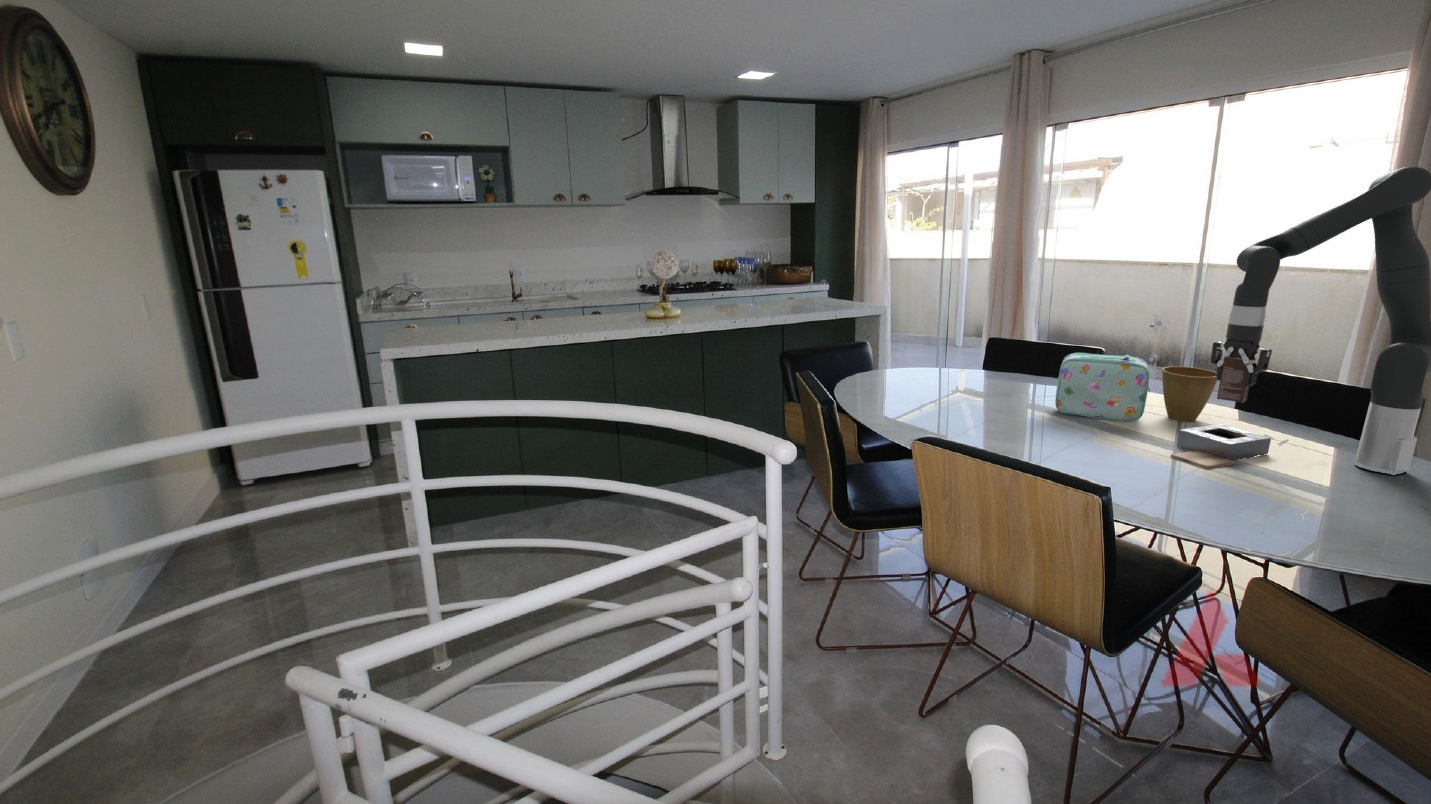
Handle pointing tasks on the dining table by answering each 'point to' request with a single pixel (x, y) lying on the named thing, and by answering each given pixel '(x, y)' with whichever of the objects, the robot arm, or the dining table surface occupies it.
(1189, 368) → the plant pot
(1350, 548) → the dining table surface
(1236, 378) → the box
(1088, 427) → the dining table surface
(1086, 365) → the lunch box
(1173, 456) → the walnut pad
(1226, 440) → the breaker guard
